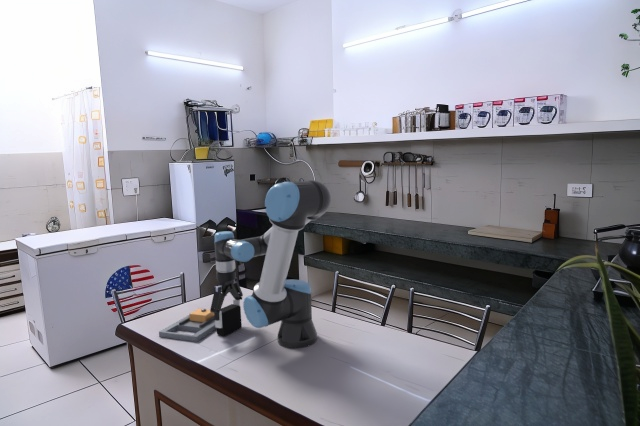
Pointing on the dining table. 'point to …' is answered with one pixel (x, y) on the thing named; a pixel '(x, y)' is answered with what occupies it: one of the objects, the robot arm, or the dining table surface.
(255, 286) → the robot arm
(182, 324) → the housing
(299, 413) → the dining table surface
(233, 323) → the electronic device
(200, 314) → the orange block with knob
